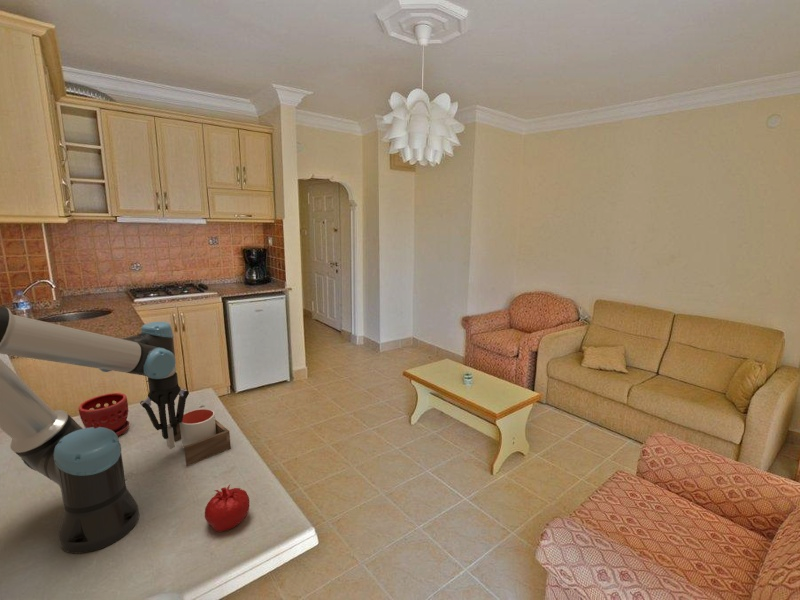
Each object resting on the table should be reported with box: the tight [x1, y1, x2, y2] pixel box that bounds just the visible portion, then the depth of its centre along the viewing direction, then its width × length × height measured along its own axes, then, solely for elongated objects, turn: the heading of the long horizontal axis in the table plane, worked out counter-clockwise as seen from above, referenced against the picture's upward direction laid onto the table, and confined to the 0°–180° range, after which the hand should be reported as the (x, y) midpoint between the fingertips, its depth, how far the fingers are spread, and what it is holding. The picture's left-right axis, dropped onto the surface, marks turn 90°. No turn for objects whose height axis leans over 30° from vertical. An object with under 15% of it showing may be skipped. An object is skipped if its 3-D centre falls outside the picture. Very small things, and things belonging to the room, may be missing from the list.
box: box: [167, 418, 232, 467], centre depth 130 cm, size 18×13×6 cm
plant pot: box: [78, 392, 130, 437], centre depth 136 cm, size 13×13×12 cm
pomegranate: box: [204, 484, 251, 532], centre depth 98 cm, size 10×10×9 cm
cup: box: [180, 408, 216, 449], centre depth 130 cm, size 10×10×10 cm
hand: (171, 446), depth 125 cm, fingers closed
